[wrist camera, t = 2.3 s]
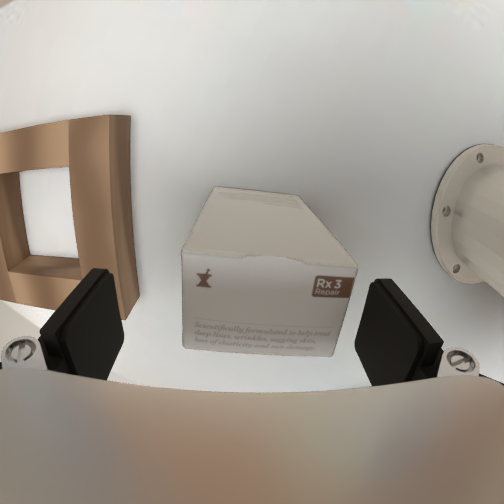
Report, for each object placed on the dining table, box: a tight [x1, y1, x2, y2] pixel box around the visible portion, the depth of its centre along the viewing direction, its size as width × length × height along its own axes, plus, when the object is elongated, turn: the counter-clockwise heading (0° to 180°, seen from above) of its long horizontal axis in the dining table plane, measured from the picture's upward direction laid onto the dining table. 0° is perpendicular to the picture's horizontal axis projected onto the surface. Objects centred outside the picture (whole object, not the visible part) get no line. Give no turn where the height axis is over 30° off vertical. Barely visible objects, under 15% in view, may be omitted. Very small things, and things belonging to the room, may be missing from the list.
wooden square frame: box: [0, 115, 140, 320], centre depth 19 cm, size 14×14×4 cm
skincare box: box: [181, 187, 358, 357], centre depth 16 cm, size 6×4×12 cm
